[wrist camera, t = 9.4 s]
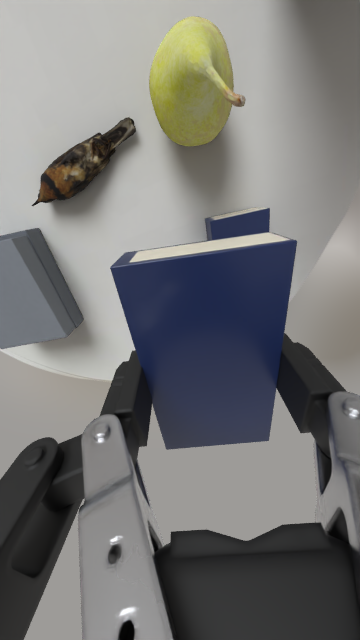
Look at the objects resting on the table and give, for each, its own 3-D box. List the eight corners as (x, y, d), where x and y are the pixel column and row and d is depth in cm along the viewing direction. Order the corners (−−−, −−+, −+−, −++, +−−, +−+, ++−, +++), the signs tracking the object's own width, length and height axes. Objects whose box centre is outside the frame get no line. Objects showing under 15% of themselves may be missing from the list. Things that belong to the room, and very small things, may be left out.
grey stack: (-35, 245, 26) (-78, 253, 21) (38, 227, 25) (9, 232, 21) (24, 330, 32) (0, 350, 28) (84, 319, 31) (69, 337, 27)
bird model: (28, 186, 23) (11, 184, 21) (129, 112, 20) (123, 100, 18) (49, 215, 24) (36, 216, 22) (146, 149, 21) (142, 142, 19)
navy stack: (215, 300, 30) (220, 314, 26) (204, 218, 25) (210, 220, 21) (256, 292, 30) (268, 306, 26) (255, 207, 24) (269, 207, 20)
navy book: (167, 416, 14) (166, 450, 12) (124, 251, 9) (109, 266, 7) (256, 408, 14) (269, 441, 12) (270, 231, 8) (297, 239, 6)
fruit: (196, 33, 18) (224, -214, 7) (240, 124, 21) (306, 43, 10) (140, 100, 20) (98, -17, 9) (187, 175, 23) (197, 150, 12)
